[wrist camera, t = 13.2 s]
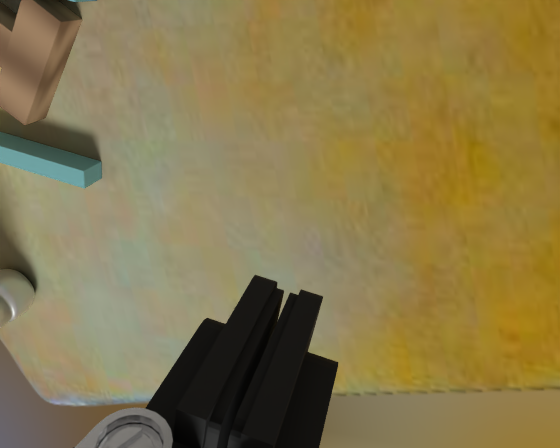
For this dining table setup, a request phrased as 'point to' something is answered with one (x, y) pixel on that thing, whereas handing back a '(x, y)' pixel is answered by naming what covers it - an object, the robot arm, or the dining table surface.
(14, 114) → the walnut T-block
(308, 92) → the dining table surface
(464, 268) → the dining table surface
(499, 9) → the dining table surface
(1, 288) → the plastic bottle
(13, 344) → the dining table surface
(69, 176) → the teal corral
